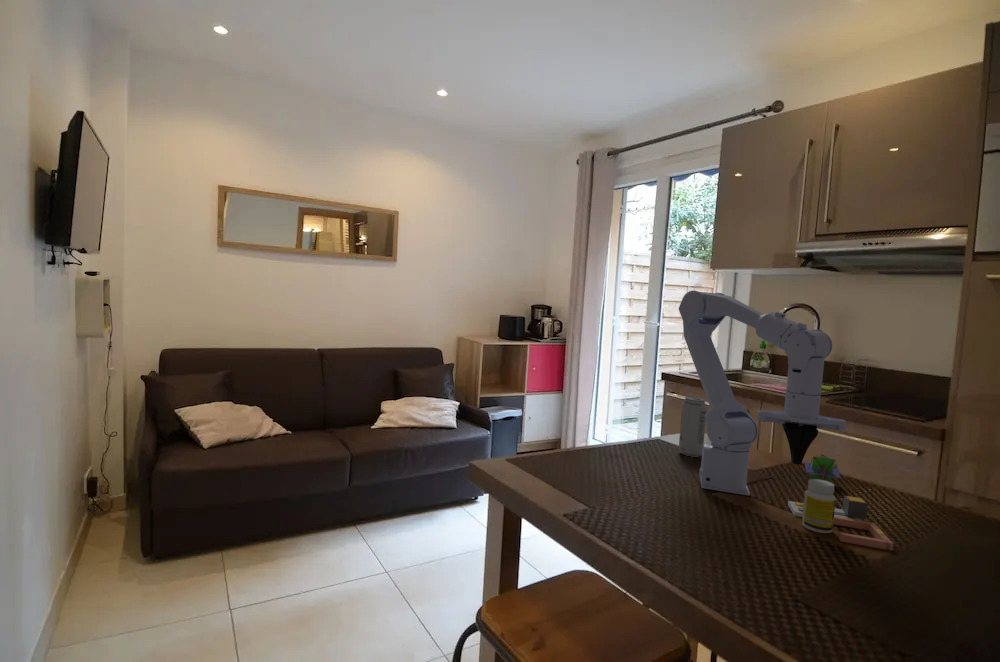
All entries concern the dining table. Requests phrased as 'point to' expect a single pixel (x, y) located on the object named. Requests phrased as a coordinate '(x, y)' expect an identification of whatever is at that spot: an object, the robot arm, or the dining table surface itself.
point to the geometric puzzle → (822, 468)
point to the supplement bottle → (819, 506)
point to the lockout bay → (877, 542)
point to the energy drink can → (692, 426)
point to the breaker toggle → (855, 507)
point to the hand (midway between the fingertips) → (796, 462)
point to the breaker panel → (798, 507)
